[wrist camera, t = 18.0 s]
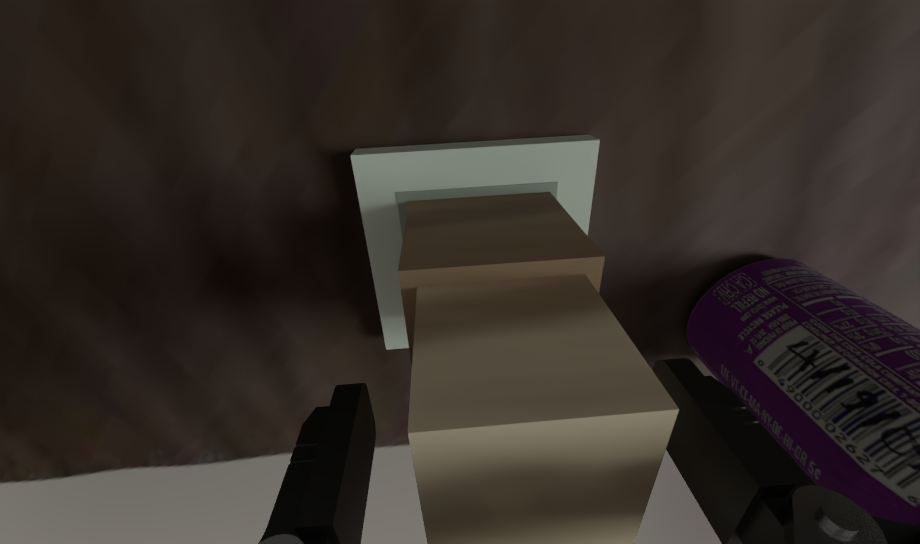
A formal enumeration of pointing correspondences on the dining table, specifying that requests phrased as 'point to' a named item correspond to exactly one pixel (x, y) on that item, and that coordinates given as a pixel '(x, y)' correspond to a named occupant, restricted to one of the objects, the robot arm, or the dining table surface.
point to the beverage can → (820, 378)
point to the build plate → (459, 193)
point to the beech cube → (531, 415)
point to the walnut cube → (490, 244)
